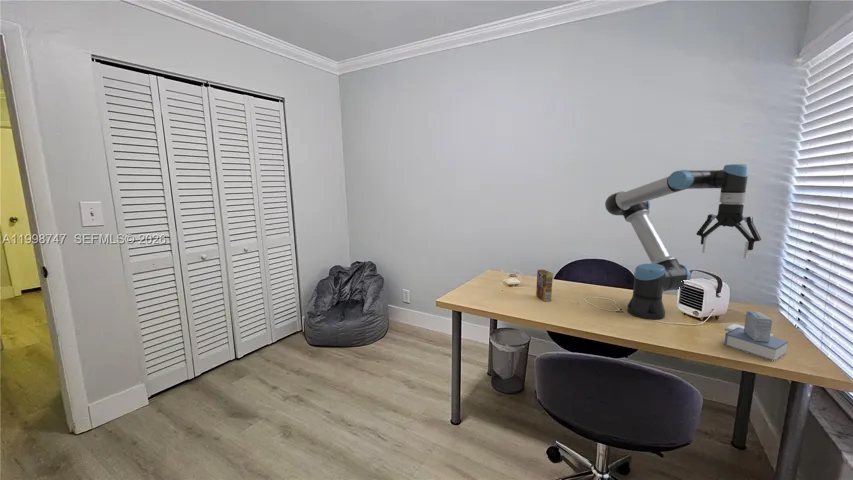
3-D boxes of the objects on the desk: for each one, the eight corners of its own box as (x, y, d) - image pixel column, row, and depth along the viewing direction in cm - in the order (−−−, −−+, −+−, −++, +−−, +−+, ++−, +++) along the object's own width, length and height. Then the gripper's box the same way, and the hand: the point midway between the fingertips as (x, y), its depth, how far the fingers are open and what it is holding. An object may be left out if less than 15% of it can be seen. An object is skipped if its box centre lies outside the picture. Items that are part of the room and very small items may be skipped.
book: (723, 345, 130) (725, 333, 130) (736, 339, 136) (738, 327, 135) (773, 361, 118) (775, 348, 118) (785, 354, 124) (788, 341, 123)
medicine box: (769, 342, 122) (773, 319, 120) (753, 340, 123) (757, 318, 122) (758, 333, 129) (761, 312, 127) (743, 332, 130) (746, 310, 129)
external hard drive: (734, 326, 148) (773, 337, 137) (725, 330, 144) (765, 342, 133) (734, 323, 148) (774, 333, 137) (726, 327, 144) (766, 338, 133)
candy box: (551, 301, 181) (553, 273, 178) (544, 301, 180) (546, 273, 177) (542, 295, 189) (544, 269, 187) (535, 296, 188) (536, 269, 186)
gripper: (690, 202, 146) (685, 251, 150) (770, 205, 125) (761, 261, 128) (698, 201, 150) (693, 249, 153) (777, 204, 129) (768, 259, 132)
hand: (724, 255), depth 141 cm, fingers open, 13 cm apart
